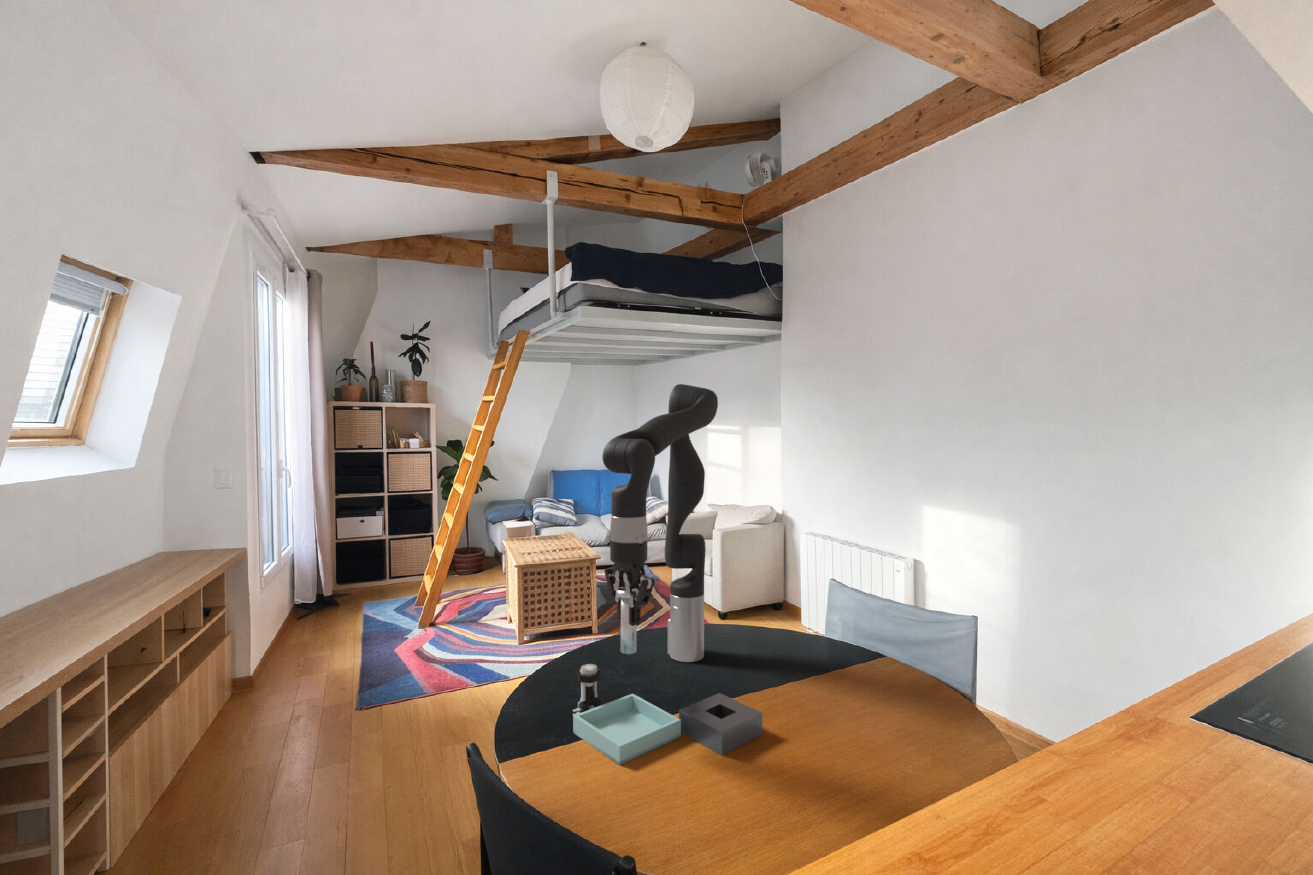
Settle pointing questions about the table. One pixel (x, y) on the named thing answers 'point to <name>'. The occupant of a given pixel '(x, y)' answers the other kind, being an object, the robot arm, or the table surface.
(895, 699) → the table surface
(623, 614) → the steel pin
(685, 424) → the robot arm
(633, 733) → the tray
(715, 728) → the hitch block
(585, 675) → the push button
